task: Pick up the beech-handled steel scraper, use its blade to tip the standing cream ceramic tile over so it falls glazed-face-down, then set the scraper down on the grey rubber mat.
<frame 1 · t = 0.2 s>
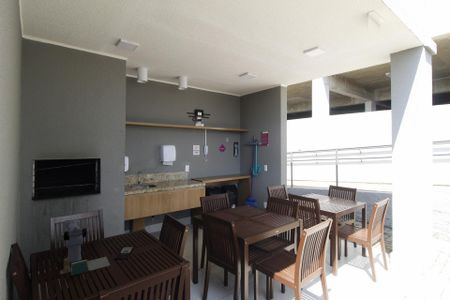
hand: (76, 237, 148), 21 cm above the table, tool horizontal, fingers open, 7 cm apart
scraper: (66, 271, 149), on the table
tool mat: (98, 263, 158), on the table
chocolate bar: (124, 254, 174), on the table
tile: (79, 273, 147), on the table
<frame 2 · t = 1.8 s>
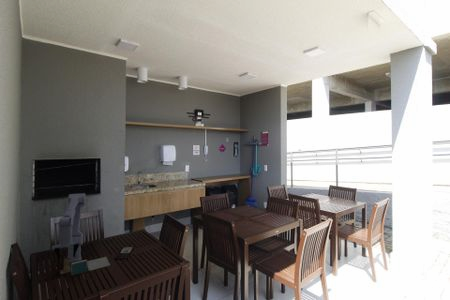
hand: (66, 258, 149), 8 cm above the table, tool pointing down, fingers open, 7 cm apart
nothing on the table moved.
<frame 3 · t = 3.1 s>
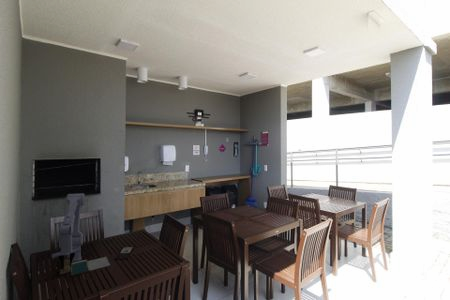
hand: (66, 266, 149), 3 cm above the table, tool pointing down, fingers closed on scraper, 3 cm apart
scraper: (66, 271, 149), on the table, touching gripper
everything else where it was.
when the fingers open (4 cm above the table, at t = 9.9 s): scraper stays where it is, resting on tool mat.
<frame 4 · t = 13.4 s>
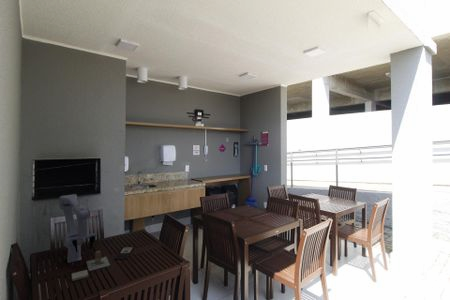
hand: (83, 250, 155), 10 cm above the table, tool pointing down, fingers open, 7 cm apart
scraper: (98, 263, 158), resting on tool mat
tile: (79, 272, 146), on the table, tilted 90°
everything else where it was.
at the end: tile tilted 90°; tile 2.3 cm from the target spot, on the table; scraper inside the target area (0.2 cm from its centre), resting on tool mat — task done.
